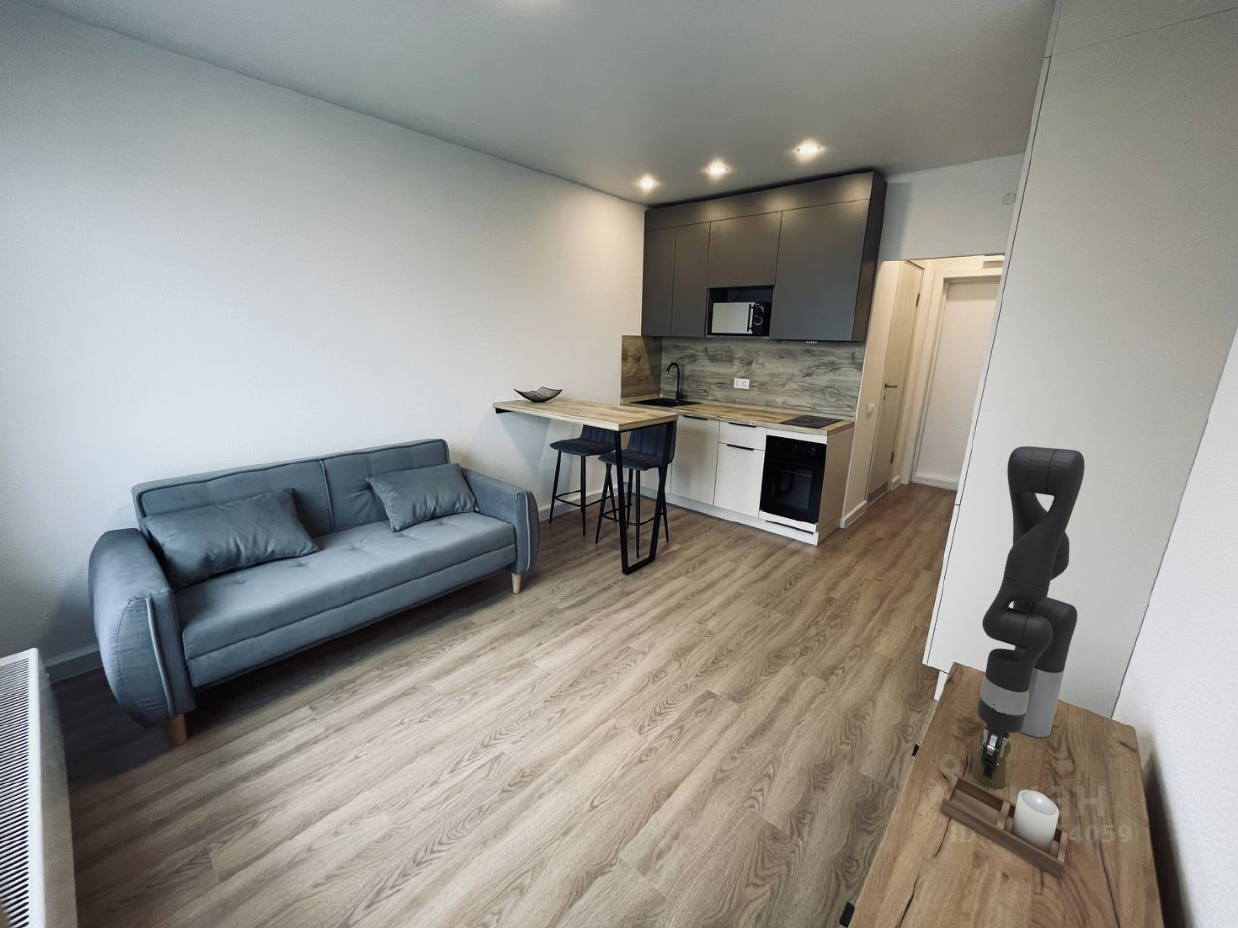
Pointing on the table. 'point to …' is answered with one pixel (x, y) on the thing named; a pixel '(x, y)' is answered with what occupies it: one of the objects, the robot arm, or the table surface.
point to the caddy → (999, 822)
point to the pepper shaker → (1000, 774)
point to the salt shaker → (1035, 819)
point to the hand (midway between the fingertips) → (989, 771)
